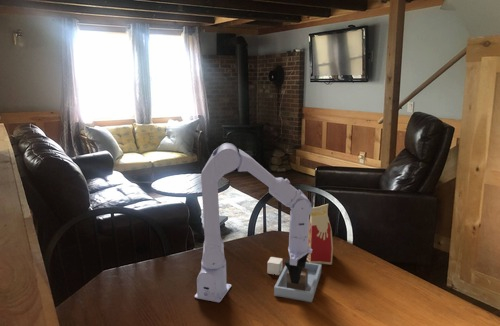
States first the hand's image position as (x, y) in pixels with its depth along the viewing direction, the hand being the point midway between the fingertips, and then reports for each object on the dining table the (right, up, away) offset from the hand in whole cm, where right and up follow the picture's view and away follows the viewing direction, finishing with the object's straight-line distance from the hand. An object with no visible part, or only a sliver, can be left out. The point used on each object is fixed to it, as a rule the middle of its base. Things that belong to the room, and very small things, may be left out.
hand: (297, 276), depth 116 cm
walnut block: (0, -3, +1) cm, 3 cm away
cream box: (-6, -1, +10) cm, 12 cm away
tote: (+1, -3, +3) cm, 4 cm away
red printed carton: (+10, +1, +19) cm, 22 cm away
